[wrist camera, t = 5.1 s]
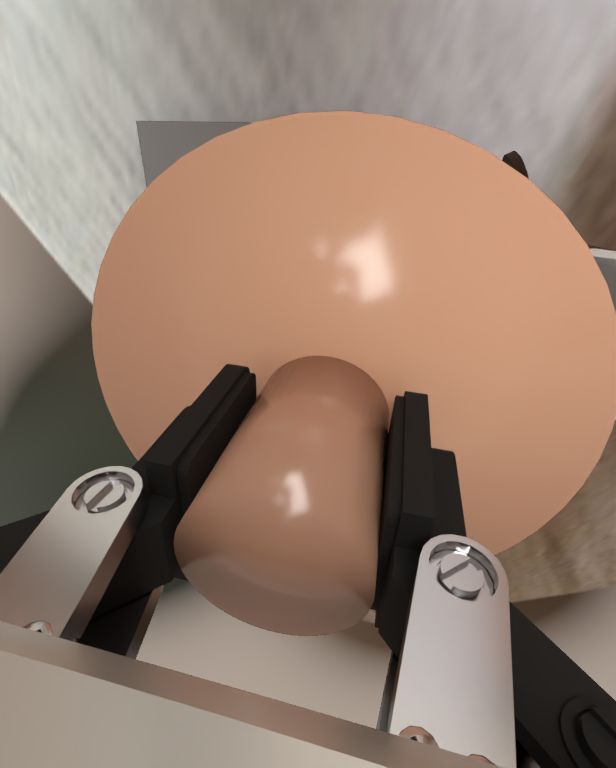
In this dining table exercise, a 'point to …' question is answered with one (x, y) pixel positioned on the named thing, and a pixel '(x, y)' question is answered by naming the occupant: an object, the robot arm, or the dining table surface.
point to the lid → (352, 347)
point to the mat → (175, 141)
